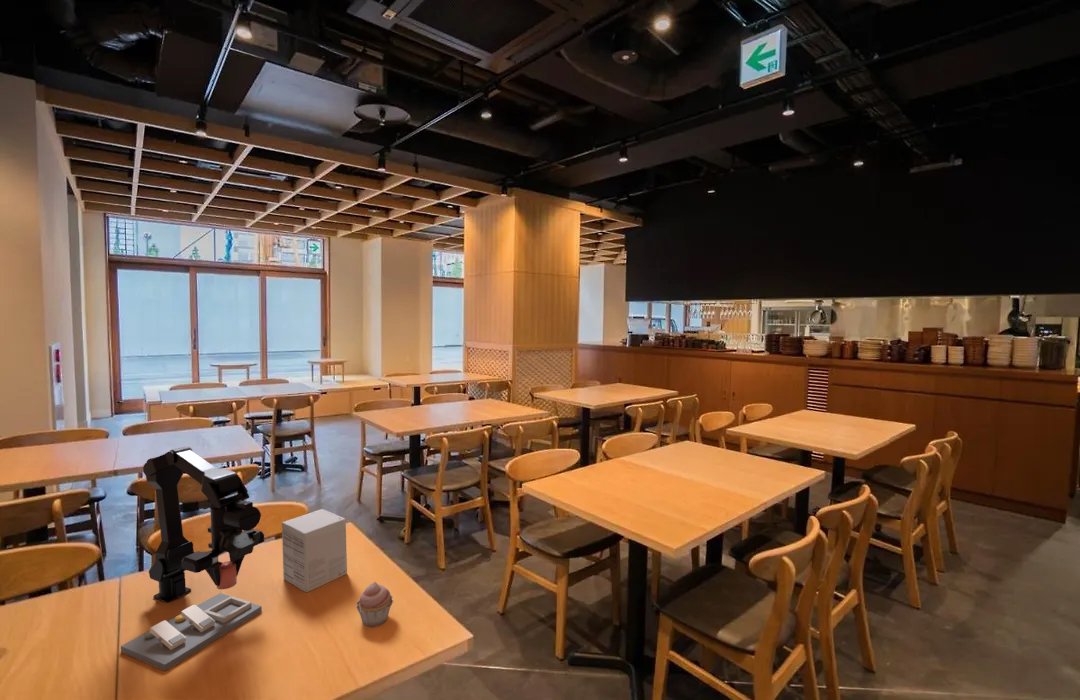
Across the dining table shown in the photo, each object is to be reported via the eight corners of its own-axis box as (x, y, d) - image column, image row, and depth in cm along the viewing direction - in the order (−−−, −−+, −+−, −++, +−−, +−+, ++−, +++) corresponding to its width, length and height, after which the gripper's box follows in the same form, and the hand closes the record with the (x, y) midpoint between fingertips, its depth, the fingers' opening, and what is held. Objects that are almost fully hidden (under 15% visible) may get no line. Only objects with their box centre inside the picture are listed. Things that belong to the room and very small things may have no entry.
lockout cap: (212, 587, 129) (211, 566, 128) (228, 578, 133) (228, 558, 132) (224, 590, 127) (223, 569, 127) (240, 582, 131) (239, 561, 131)
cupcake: (401, 614, 132) (401, 577, 131) (376, 634, 124) (375, 596, 123) (374, 605, 136) (373, 570, 135) (348, 624, 128) (347, 587, 127)
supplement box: (323, 561, 160) (322, 507, 159) (348, 573, 152) (346, 518, 151) (282, 578, 149) (280, 521, 148) (306, 593, 142) (304, 533, 140)
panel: (121, 652, 117) (120, 641, 117) (220, 598, 139) (220, 588, 139) (165, 671, 111) (164, 659, 111) (261, 611, 133) (261, 601, 133)
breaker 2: (179, 615, 124) (180, 611, 124) (194, 607, 127) (195, 603, 127) (200, 633, 121) (201, 628, 121) (215, 624, 125) (216, 619, 124)
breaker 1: (148, 632, 117) (149, 627, 117) (165, 623, 121) (166, 618, 121) (169, 651, 115) (170, 646, 114) (186, 640, 118) (187, 636, 118)
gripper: (209, 543, 117) (212, 607, 118) (278, 514, 134) (280, 570, 135) (178, 535, 121) (181, 597, 122) (248, 507, 138) (250, 562, 140)
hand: (226, 580), depth 130 cm, fingers closed on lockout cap, 4 cm apart
